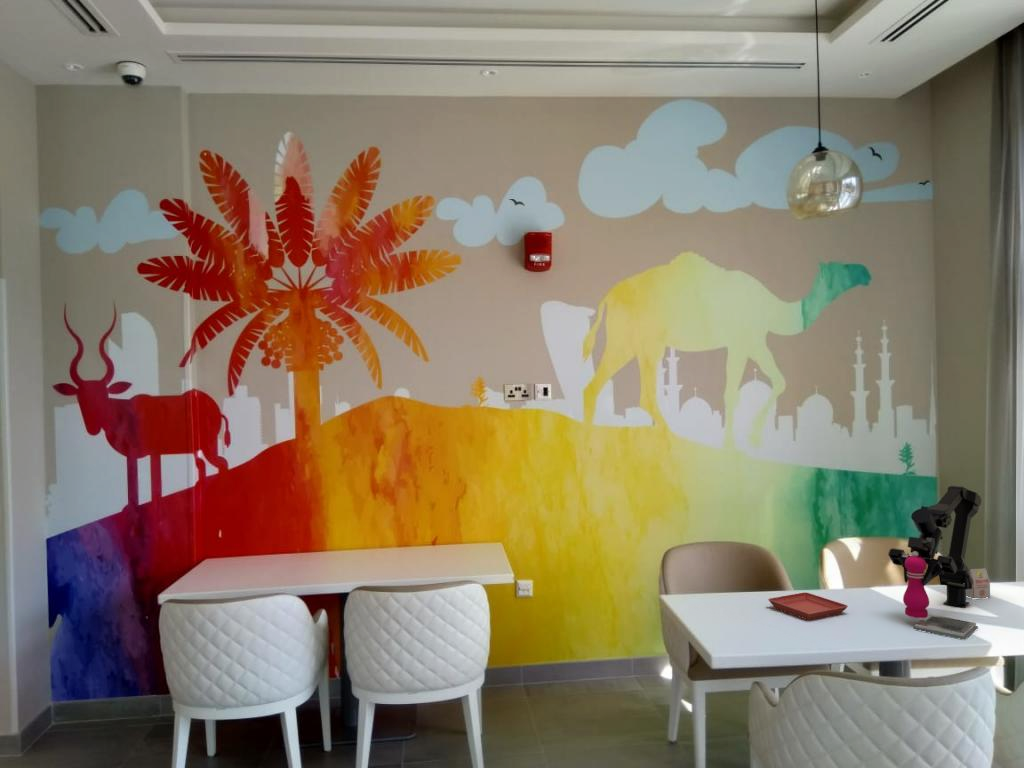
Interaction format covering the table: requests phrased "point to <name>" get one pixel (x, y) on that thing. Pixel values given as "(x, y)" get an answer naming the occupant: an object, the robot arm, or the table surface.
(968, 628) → the silver dock
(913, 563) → the pepper mill
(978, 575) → the tea bag
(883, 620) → the table surface
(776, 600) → the plant saucer
